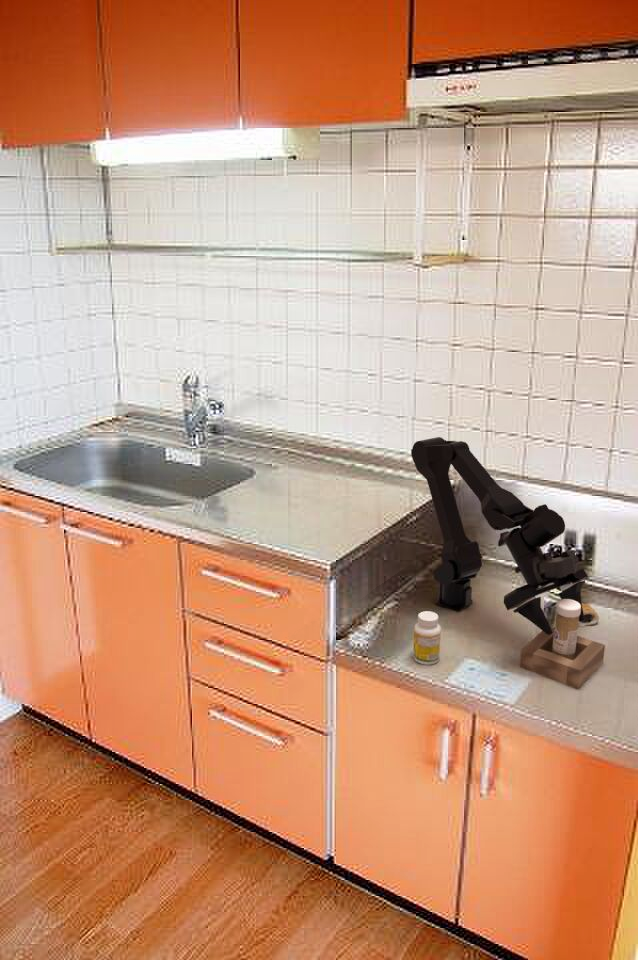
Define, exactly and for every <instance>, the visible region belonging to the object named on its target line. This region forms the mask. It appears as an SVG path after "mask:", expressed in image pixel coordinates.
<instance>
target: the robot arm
mask: <svg viewBox="0 0 638 960" xmlns="http://www.w3.org/2000/svg"><path fill="white" fill-rule="evenodd" d="M410 453H411V454H410V455H411V458H412V461H413V463H414V466H415V468H416V470H417V472H419V474H420V475H421V476H423V478H424V479H426V481H427V485H428V488H429V493H430V495H431V499H432V503H433V507H434V510H435V514H436V517H437V521H438V524H439V528H440V531H441V533H442V534H441V535H442V538H443V545H442V548H441V549H442V550H441V554H440V558H441V564H440V565H439V566H437V567H436V568H435V569H434V570H432V572H433V577H434V580H435V581H437V582H438V583H439V590H438V591H439V592H438V599H437V600H435V602H434V604H435V605H438V606H441V607H444V608H447V609H450V610H452V611H455V612H461V611H462V610H464V609H466V608H467V607H468V606H470V605H471V604H472V603H473V600H474V599H472V591H473V588H472V586H471V579H476V578H477V577H478V574H479V572H480V571H481V568H482V567H483V561H482V560H483V558H484V557H483V555H482V553H481V552H480V546H479V543H478V541H476V540H474V541H472V540H471V539H470V538H469V537H468V536H467V535H466V532H465V528H464V524H463V522H462V517H461V514H460V510H459V507H458V504H457V499H456V497H455V493H454V489H453V486H452V483H451V479H450V476H449V473H450V468H451V466H452V467H453V469H455V470H456V472H457V473H458V475H459V476H460V477H461V479H463V481H464V482H465V484H466V485H467V487H469V489H470V490H471V492H472V493H473V494H474V495H475V496H476V497H477V499H478V500H479V502H480V506H481V507H480V508H481V513H482V515H483V517H484V519H485V520H486V521H487V524H488V525H489V527H490V528H492V529H493V530H494V531H502V530H503V532H500V536H499V539H498V542H497V546H498V547H502V546H506V547H507V549H508V550H509V552H510V554H511V556H512V558H513V561H514V563H515V564H516V567H514V571H515V573H516V574H519V573H521V575H522V577H523V580H524V581H525V583H526V584H524V585H521V586H519V587H516V588H514V589H513V590H511V591H510V592H508V593H507V594H505V595H504V596H503V604H504V606H505V608H506V610H507V611H510V610H513V613H514V614H516V613H517V614H519V615H521V616H522V617H524V618H525V619H526V620H528V621H529V622H531V623H532V624H533V625H535V626H536V627H537V628H539V629H540V630H541V632H542V631H544V632H545V633H546V634H547V635H550V634H552V630H551V627H552V626H550V623H549V621H548V619H547V617H546V614H545V613H544V610H543V608H542V606H541V604H542V602H541V601H542V597H541V596H539V595H542V594H545V593H547V592H550V591H553V590H558V591H559V592H558V593H557V595H558V597H559V598H560V600H561V599H571V600H575V601H577V602H578V603H579V604H580V605H581V612H580V616H579V622H582V621H584V614H583V608H582V603H583V602H582V593H581V592H582V588H583V585H584V584H585V583H586V579H587V578H588V577H589V576H588V574H587V573H586V570H585V568H583V567H581V566H579V564H580V561H579V558H578V555H577V554H576V552H575V551H574V550H573V549H567V550H565V551H562V552H561V553H560V556H559V557H554V558H553V556H552V555H551V554H550V553H549V552H545V553H544V552H543V550H542V547H545V546H546V545H547V544H549V543H550V542H552V541H553V540H555V539H556V538H558V537H560V536H561V535H563V534H564V532H565V530H566V523H565V520H564V518H563V517H562V515H560V514H559V513H558V512H556V511H555V510H553V509H551V508H549V507H548V505H547V504H545V503H544V504H542V505H541V504H540V505H538V506H536V507H535V509H531V507H528V506H527V505H526V504H524V503H523V502H522V501H521V499H519V498H518V496H516V495H515V494H514V493H513V492H511V491H509V490H507V489H505V488H503V487H501V486H500V485H499V484H498V483H497V482H496V481H495V479H494V478H493V477H492V476H491V474H490V473H489V472H488V470H487V469H486V468H485V467H484V466H483V465H482V463H480V461H479V460H478V458H477V457H476V456H475V455H474V454H473V453H472V452H471V449H470V446H469V445H468V443H467V442H466V441H462V440H459V441H457V440H446V439H444V438H443V437H441V436H438V437H437V436H436V437H432V438H427V439H422V440H416V441H415V442H414V444H413V446H412V448H411V449H410ZM510 529H512V530H510ZM504 530H510V531H504ZM537 596H538V597H537Z"/></svg>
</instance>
